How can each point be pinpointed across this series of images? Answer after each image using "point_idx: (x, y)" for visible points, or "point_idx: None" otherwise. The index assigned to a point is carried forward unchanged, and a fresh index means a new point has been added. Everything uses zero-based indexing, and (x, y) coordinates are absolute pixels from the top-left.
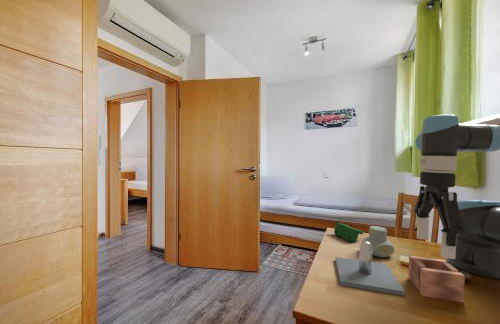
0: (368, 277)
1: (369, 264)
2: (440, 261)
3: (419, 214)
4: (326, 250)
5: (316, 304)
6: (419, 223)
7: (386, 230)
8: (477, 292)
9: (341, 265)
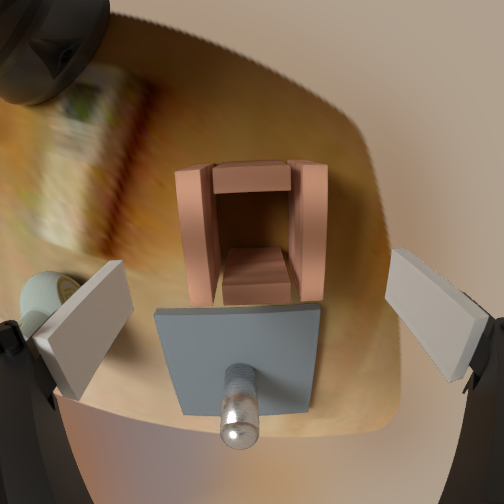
0: (271, 371)
1: (255, 390)
2: (201, 197)
3: (60, 415)
4: (136, 413)
5: (370, 419)
6: (92, 364)
7: (24, 336)
8: (220, 85)
9: None
